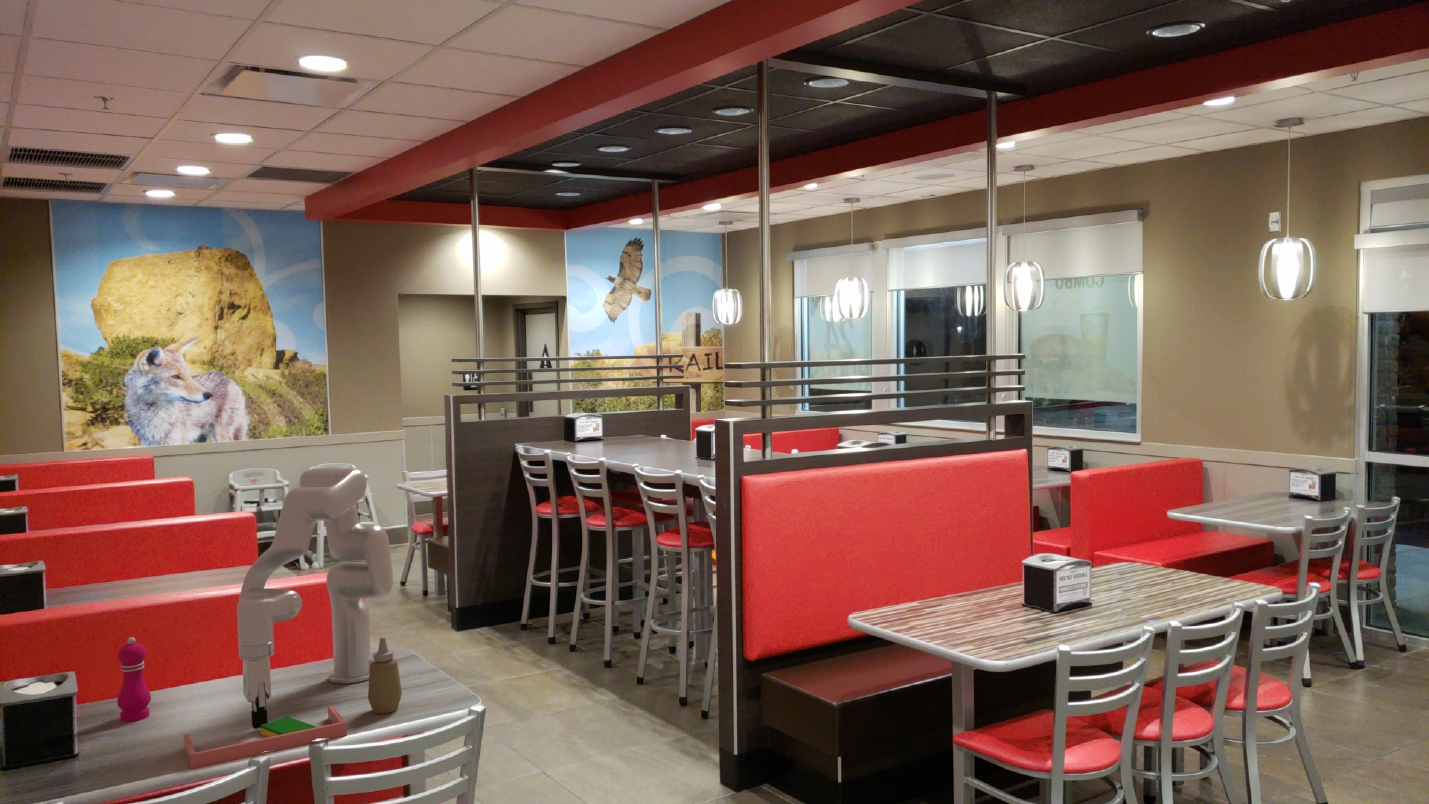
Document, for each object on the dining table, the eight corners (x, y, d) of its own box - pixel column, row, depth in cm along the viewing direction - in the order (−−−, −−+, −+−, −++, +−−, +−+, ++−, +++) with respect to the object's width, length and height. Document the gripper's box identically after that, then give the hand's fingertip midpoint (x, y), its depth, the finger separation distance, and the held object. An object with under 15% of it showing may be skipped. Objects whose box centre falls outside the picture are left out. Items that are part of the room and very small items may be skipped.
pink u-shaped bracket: (332, 717, 243) (332, 705, 243) (346, 735, 231) (346, 722, 231) (184, 748, 226) (183, 735, 226) (191, 769, 213) (190, 755, 213)
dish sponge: (292, 747, 226) (291, 737, 225) (259, 735, 234) (259, 724, 234) (320, 737, 231) (320, 727, 231) (288, 725, 240) (287, 715, 239)
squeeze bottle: (389, 717, 242) (386, 643, 242) (361, 714, 245) (358, 641, 244) (409, 706, 250) (406, 634, 249) (382, 703, 253) (379, 632, 252)
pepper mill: (141, 710, 252) (137, 632, 251) (157, 715, 248) (154, 635, 247) (111, 719, 246) (108, 639, 245) (128, 724, 242) (124, 642, 241)
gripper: (234, 645, 239) (237, 721, 240) (243, 660, 227) (247, 740, 227) (268, 640, 243) (271, 714, 244) (279, 654, 231) (282, 732, 231)
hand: (259, 726), depth 236 cm, fingers closed
